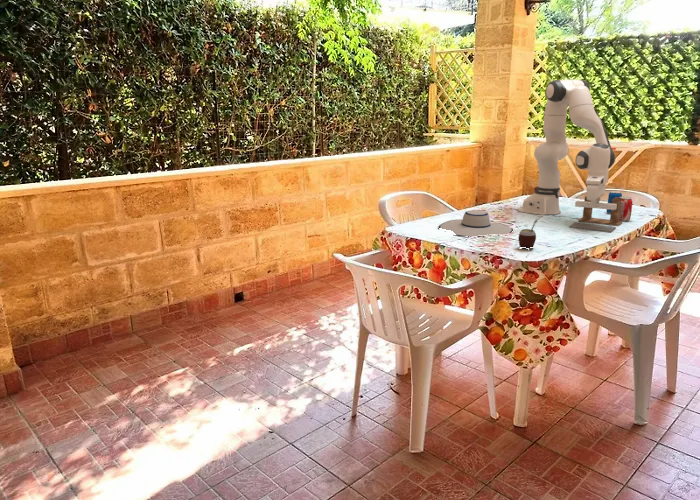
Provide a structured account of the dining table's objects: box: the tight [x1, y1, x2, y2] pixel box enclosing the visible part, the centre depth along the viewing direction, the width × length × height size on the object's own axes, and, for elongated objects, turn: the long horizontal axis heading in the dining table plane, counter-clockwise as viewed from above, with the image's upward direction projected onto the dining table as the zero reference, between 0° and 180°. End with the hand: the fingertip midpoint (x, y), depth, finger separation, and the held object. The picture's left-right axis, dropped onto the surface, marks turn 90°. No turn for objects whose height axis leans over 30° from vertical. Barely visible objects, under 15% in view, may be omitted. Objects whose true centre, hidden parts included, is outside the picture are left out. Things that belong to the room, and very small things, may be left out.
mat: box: [568, 221, 617, 234], centre depth 253 cm, size 19×10×1 cm, turn 52°
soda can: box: [619, 196, 633, 223], centre depth 265 cm, size 7×7×12 cm
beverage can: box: [606, 190, 623, 215], centre depth 281 cm, size 6×6×12 cm
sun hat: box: [438, 209, 514, 238], centre depth 256 cm, size 36×36×9 cm
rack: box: [578, 195, 624, 227], centre depth 263 cm, size 19×8×13 cm, turn 52°
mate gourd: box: [518, 215, 544, 248], centre depth 219 cm, size 8×8×15 cm
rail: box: [574, 200, 617, 210], centre depth 250 cm, size 18×3×2 cm, turn 52°
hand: (595, 207), depth 250 cm, fingers closed on rail, 3 cm apart
